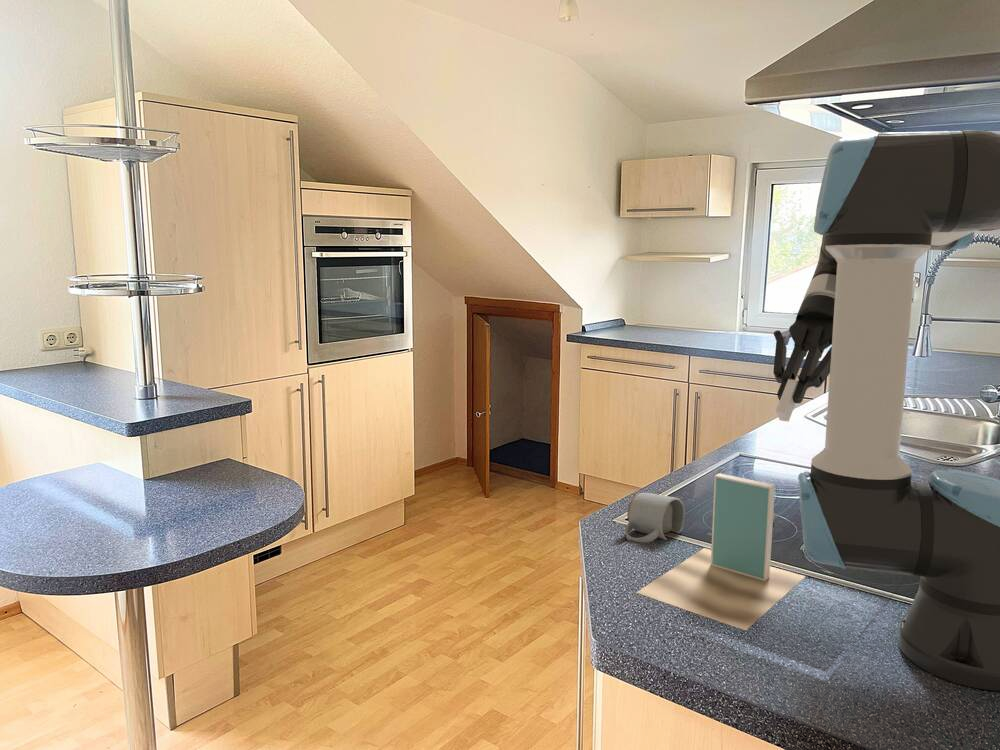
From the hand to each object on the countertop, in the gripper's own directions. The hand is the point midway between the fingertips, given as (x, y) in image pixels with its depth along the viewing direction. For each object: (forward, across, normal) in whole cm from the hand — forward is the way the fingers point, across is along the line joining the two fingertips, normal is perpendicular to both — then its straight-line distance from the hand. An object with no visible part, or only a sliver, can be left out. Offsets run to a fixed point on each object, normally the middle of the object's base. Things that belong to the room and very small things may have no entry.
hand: (782, 416), depth 123 cm
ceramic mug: (+22, +20, -13) cm, 32 cm away
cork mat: (+29, +1, -5) cm, 30 cm away
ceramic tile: (+25, +1, -8) cm, 26 cm away
